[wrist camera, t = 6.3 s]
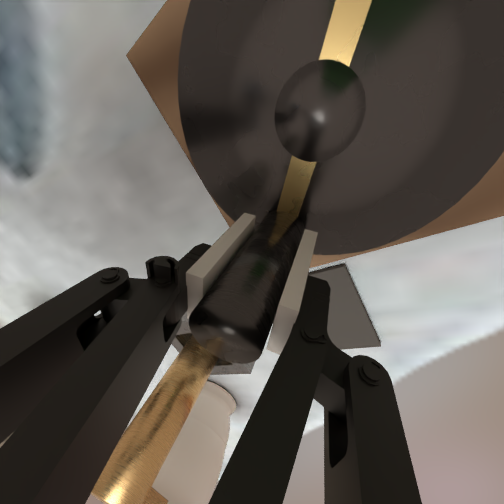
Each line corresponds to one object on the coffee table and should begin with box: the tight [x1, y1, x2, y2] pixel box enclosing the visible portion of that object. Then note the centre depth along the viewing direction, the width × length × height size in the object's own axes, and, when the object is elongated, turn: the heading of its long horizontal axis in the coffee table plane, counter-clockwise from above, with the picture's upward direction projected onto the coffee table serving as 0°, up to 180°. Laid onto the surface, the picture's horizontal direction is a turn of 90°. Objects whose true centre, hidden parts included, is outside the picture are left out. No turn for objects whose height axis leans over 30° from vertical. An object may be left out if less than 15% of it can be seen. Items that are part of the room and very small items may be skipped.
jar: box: [151, 381, 236, 504], centre depth 32 cm, size 11×10×15 cm
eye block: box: [171, 311, 255, 375], centre depth 28 cm, size 8×8×3 cm
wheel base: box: [126, 0, 504, 268], centre depth 14 cm, size 19×19×1 cm
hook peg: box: [91, 335, 218, 504], centre depth 23 cm, size 6×4×16 cm, turn 31°
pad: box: [273, 264, 381, 349], centre depth 22 cm, size 9×9×1 cm
